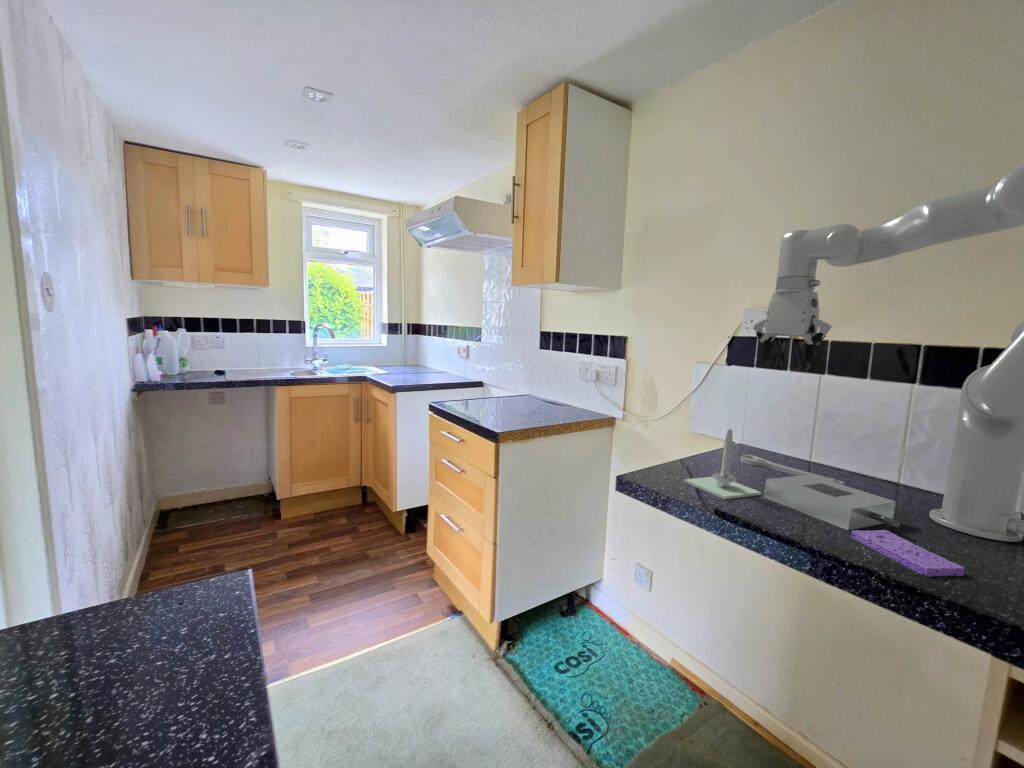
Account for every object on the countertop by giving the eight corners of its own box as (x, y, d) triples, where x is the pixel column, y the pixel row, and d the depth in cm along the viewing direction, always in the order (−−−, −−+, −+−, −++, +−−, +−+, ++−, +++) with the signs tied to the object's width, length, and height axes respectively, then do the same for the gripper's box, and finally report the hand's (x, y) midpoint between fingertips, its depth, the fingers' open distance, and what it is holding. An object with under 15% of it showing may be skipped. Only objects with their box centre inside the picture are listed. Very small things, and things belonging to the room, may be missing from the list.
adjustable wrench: (846, 488, 107) (847, 481, 107) (832, 492, 104) (834, 484, 104) (747, 459, 129) (748, 453, 129) (733, 461, 126) (734, 455, 125)
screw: (721, 481, 102) (740, 488, 98) (706, 483, 100) (724, 490, 96) (728, 426, 101) (747, 430, 96) (713, 426, 99) (732, 431, 94)
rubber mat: (760, 494, 97) (761, 492, 97) (724, 499, 92) (725, 496, 92) (718, 478, 107) (718, 476, 106) (684, 481, 102) (684, 479, 102)
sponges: (884, 539, 79) (886, 529, 78) (965, 579, 66) (967, 567, 66) (849, 539, 78) (850, 529, 77) (924, 579, 65) (926, 567, 65)
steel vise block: (917, 530, 83) (921, 509, 82) (873, 540, 77) (877, 518, 76) (806, 491, 101) (809, 474, 101) (763, 497, 95) (766, 479, 95)
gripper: (845, 285, 97) (835, 364, 99) (769, 291, 112) (761, 358, 114) (825, 281, 93) (815, 363, 95) (749, 288, 109) (741, 358, 111)
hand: (785, 360), depth 105 cm, fingers open, 9 cm apart
